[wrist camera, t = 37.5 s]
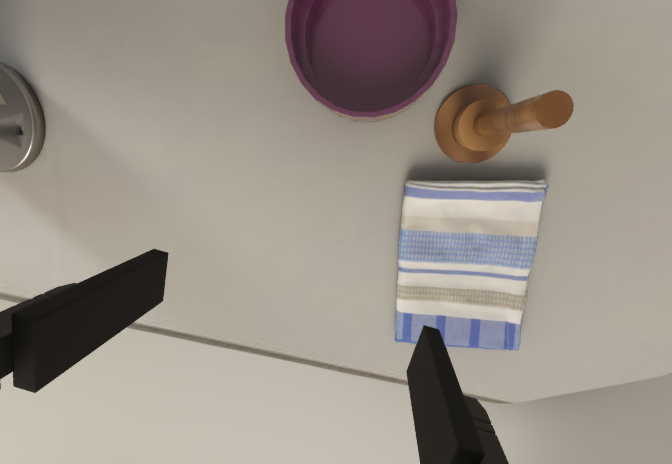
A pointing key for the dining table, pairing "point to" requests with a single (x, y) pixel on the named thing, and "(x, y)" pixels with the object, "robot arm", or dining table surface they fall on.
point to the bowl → (369, 52)
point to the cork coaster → (450, 112)
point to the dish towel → (467, 260)
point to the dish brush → (509, 119)
